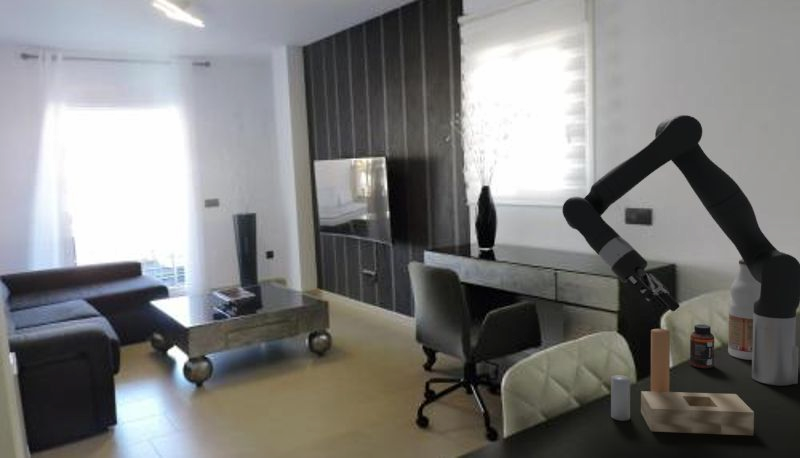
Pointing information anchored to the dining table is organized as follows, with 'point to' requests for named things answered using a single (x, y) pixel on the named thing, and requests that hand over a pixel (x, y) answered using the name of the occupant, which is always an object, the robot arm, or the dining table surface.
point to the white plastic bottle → (742, 313)
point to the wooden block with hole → (696, 413)
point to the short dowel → (620, 397)
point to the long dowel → (660, 360)
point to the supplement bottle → (702, 347)
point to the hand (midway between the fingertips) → (671, 309)
